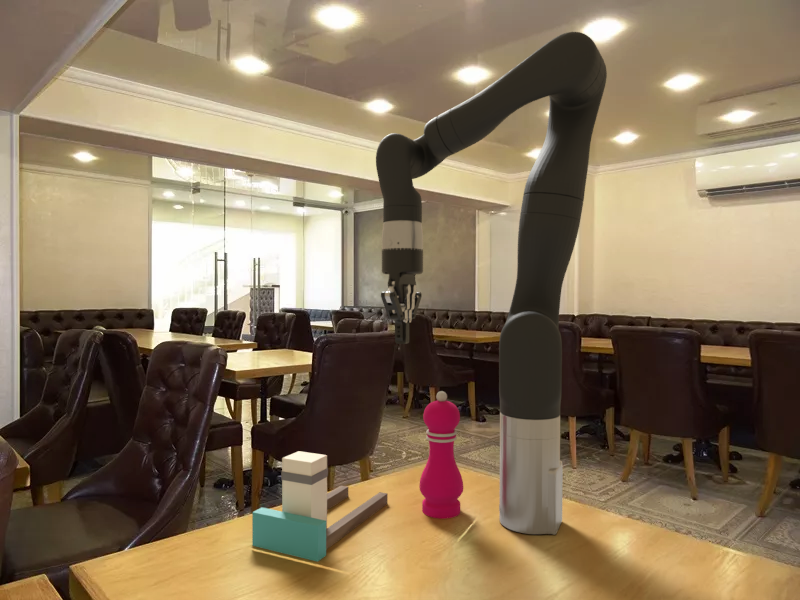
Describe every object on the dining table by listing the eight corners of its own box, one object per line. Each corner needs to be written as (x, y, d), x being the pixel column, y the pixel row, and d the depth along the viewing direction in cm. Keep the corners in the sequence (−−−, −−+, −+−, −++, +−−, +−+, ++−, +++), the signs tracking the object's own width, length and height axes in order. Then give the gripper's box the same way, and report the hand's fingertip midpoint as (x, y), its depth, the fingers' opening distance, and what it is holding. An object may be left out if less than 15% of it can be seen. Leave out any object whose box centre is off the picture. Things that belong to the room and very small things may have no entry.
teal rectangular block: (326, 557, 76) (326, 520, 76) (317, 563, 74) (317, 526, 74) (261, 541, 81) (261, 507, 81) (252, 547, 79) (252, 512, 79)
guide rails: (387, 505, 95) (387, 493, 95) (314, 560, 75) (314, 545, 75) (341, 496, 99) (341, 485, 99) (259, 547, 79) (259, 533, 79)
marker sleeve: (327, 536, 82) (328, 455, 82) (311, 548, 78) (311, 462, 78) (298, 530, 84) (298, 450, 84) (281, 541, 80) (281, 458, 80)
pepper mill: (463, 505, 95) (463, 388, 95) (463, 522, 88) (464, 395, 88) (420, 503, 96) (421, 387, 96) (417, 520, 89) (418, 394, 88)
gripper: (406, 244, 94) (405, 347, 94) (435, 250, 106) (434, 341, 106) (366, 245, 97) (366, 345, 97) (399, 251, 109) (399, 340, 109)
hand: (402, 343), depth 101 cm, fingers closed
